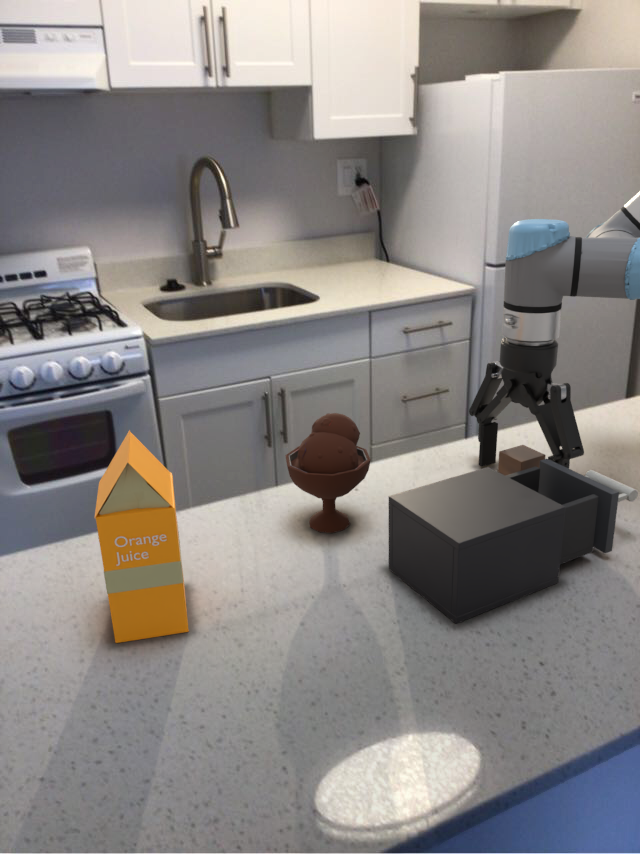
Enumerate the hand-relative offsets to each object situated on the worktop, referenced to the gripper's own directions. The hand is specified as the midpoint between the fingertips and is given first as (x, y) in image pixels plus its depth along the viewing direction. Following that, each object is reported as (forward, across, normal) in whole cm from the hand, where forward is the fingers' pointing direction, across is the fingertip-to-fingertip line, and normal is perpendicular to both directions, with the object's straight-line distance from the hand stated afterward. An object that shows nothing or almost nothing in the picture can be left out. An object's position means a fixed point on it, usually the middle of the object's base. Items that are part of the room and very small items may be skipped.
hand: (518, 481), depth 110 cm
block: (0, 0, 0) cm, 0 cm away
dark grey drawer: (-1, +16, -9) cm, 18 cm away
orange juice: (+1, +3, -56) cm, 56 cm away
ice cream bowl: (0, -4, -29) cm, 30 cm away
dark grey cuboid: (0, +16, -22) cm, 27 cm away
